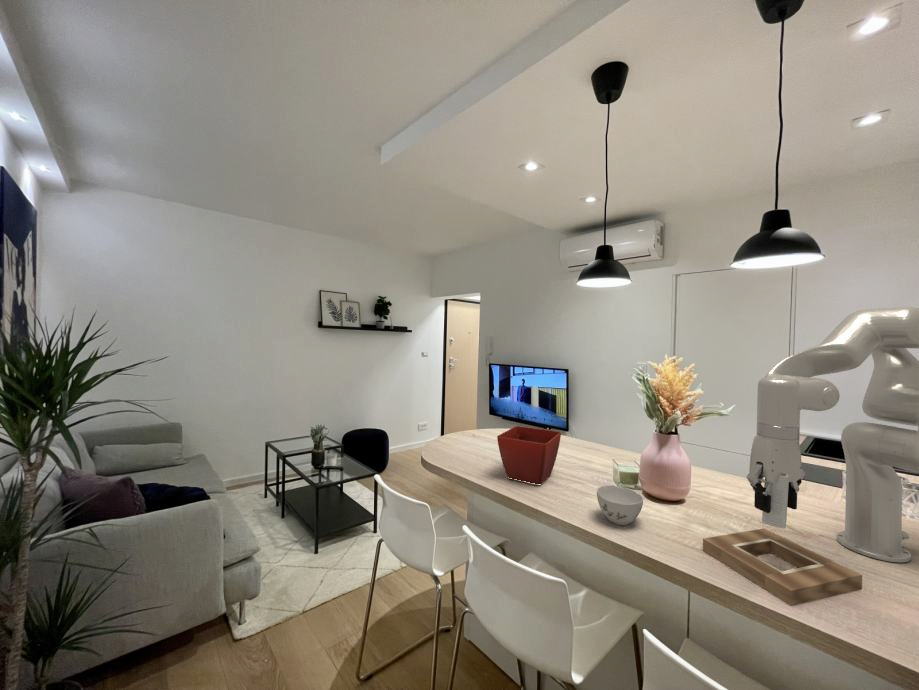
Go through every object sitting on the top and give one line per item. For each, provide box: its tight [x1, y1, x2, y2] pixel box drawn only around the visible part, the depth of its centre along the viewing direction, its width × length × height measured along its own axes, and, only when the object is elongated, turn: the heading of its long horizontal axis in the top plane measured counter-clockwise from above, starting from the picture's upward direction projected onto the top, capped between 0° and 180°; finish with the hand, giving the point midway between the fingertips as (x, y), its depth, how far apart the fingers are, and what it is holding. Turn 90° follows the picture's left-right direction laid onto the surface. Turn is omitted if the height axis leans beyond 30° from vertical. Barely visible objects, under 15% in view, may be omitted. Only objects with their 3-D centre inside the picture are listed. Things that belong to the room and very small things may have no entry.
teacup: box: [596, 484, 644, 526], centre depth 110 cm, size 15×12×8 cm
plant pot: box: [496, 425, 562, 485], centre depth 143 cm, size 19×19×17 cm
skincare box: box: [761, 474, 789, 530], centre depth 86 cm, size 6×4×12 cm
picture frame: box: [702, 528, 863, 606], centre depth 87 cm, size 20×20×3 cm
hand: (775, 508), depth 86 cm, fingers closed on skincare box, 7 cm apart
